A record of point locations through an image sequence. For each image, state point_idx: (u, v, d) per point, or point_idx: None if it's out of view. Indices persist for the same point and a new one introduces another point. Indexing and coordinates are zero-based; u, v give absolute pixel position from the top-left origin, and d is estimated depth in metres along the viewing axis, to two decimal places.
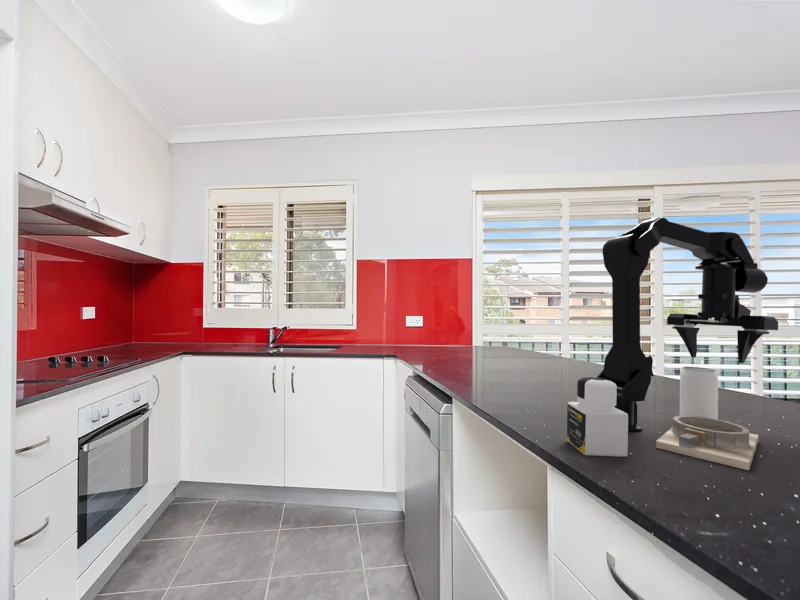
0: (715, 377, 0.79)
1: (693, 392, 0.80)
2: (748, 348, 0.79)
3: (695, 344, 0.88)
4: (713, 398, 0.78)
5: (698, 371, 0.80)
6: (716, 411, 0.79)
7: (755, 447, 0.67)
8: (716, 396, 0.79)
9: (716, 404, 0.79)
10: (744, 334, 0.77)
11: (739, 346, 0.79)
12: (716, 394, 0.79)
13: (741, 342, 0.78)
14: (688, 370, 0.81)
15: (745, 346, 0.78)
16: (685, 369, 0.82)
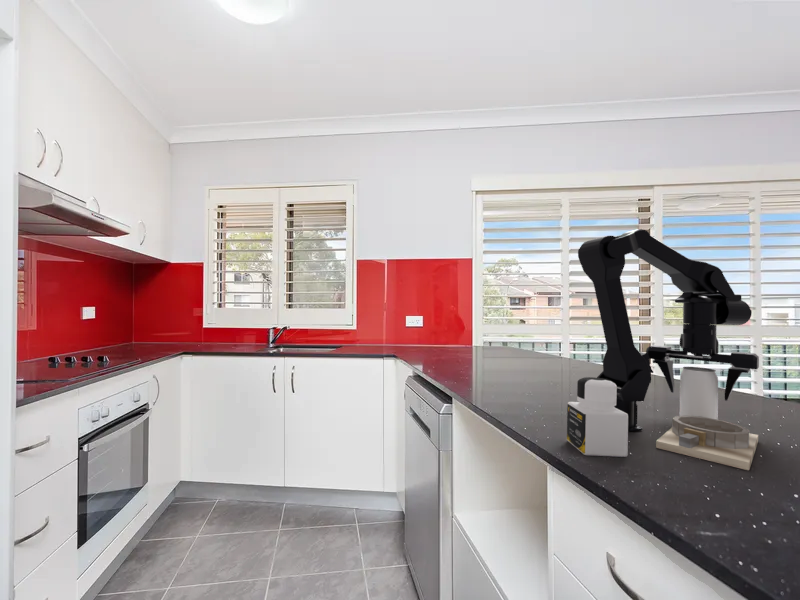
0: (715, 377, 0.79)
1: (693, 392, 0.80)
2: (733, 385, 0.78)
3: (673, 378, 0.85)
4: (713, 398, 0.78)
5: (698, 371, 0.80)
6: (716, 411, 0.79)
7: (755, 447, 0.67)
8: (716, 396, 0.79)
9: (716, 404, 0.79)
10: (735, 373, 0.75)
11: (728, 384, 0.77)
12: (716, 394, 0.79)
13: (731, 380, 0.76)
14: (688, 370, 0.81)
15: (733, 384, 0.77)
16: (685, 369, 0.82)
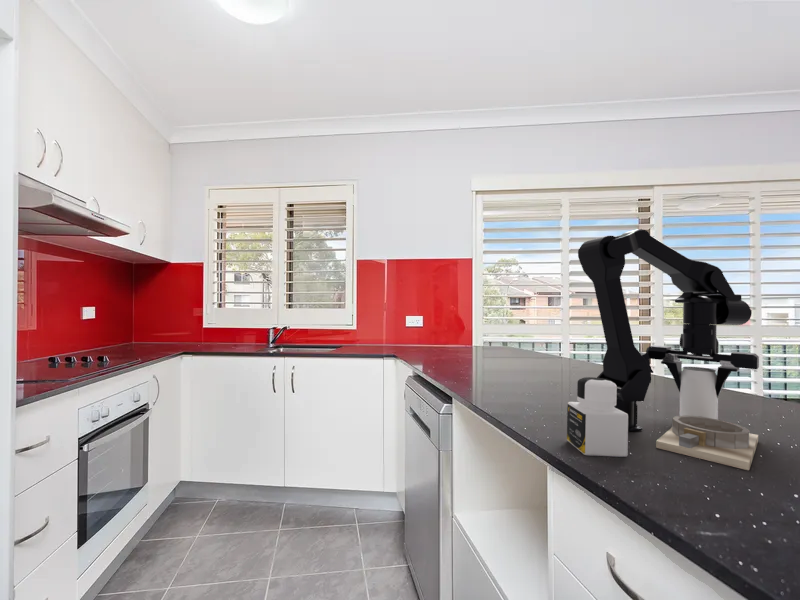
0: (715, 377, 0.79)
1: (693, 392, 0.80)
2: (723, 384, 0.79)
3: None
4: (713, 398, 0.79)
5: (698, 371, 0.80)
6: (716, 410, 0.79)
7: (755, 447, 0.67)
8: (716, 396, 0.79)
9: (716, 404, 0.79)
10: (724, 372, 0.77)
11: (717, 383, 0.78)
12: (716, 394, 0.79)
13: (720, 379, 0.77)
14: (688, 370, 0.81)
15: (723, 383, 0.78)
16: (685, 369, 0.82)
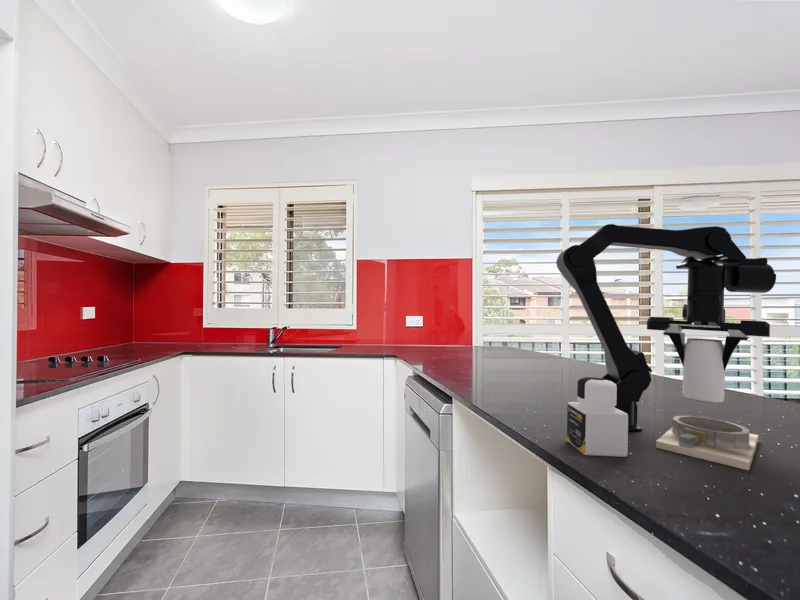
0: (722, 347, 0.73)
1: (698, 364, 0.73)
2: (730, 355, 0.73)
3: None
4: (720, 370, 0.72)
5: (704, 341, 0.73)
6: (723, 384, 0.72)
7: (755, 447, 0.67)
8: (723, 368, 0.72)
9: (723, 377, 0.72)
10: (733, 341, 0.70)
11: (725, 353, 0.72)
12: (723, 366, 0.72)
13: (728, 349, 0.71)
14: (693, 341, 0.75)
15: (731, 353, 0.71)
16: (690, 340, 0.75)
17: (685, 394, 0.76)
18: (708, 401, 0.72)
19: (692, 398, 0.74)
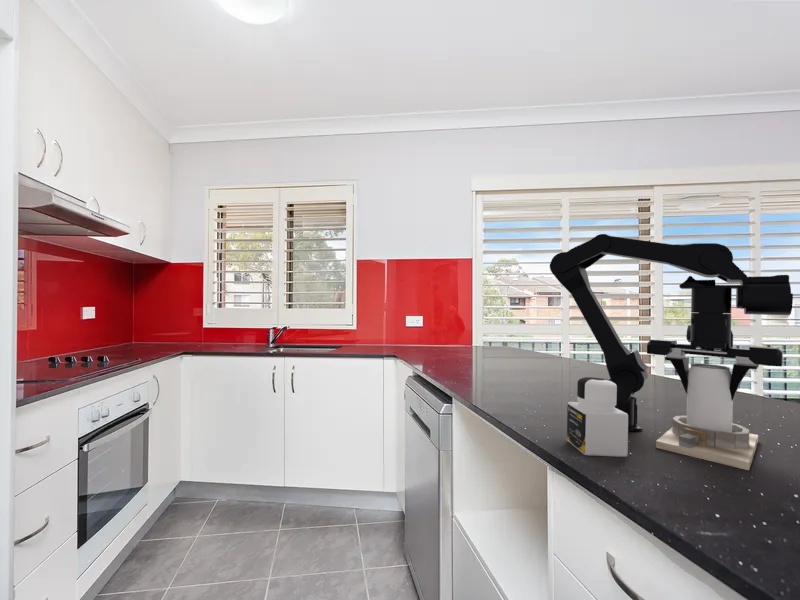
0: (730, 376, 0.66)
1: (703, 394, 0.67)
2: (739, 384, 0.66)
3: None
4: (727, 401, 0.66)
5: (709, 369, 0.67)
6: (730, 416, 0.66)
7: (755, 447, 0.67)
8: None
9: (731, 408, 0.66)
10: (741, 370, 0.64)
11: (732, 383, 0.65)
12: None
13: (736, 378, 0.65)
14: (697, 367, 0.68)
15: (739, 383, 0.65)
16: (694, 366, 0.69)
17: None
18: None
19: None
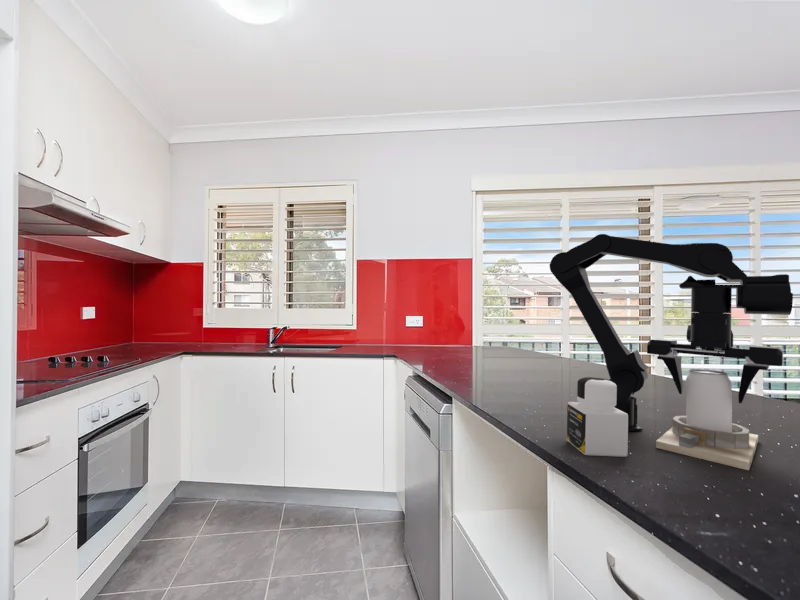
0: (728, 381, 0.66)
1: (701, 400, 0.67)
2: (749, 385, 0.65)
3: (681, 377, 0.72)
4: (726, 406, 0.66)
5: (707, 374, 0.67)
6: (730, 421, 0.66)
7: (755, 447, 0.67)
8: (729, 404, 0.66)
9: (730, 414, 0.66)
10: (752, 370, 0.63)
11: (742, 384, 0.64)
12: (730, 402, 0.66)
13: (746, 379, 0.64)
14: (695, 373, 0.69)
15: (749, 384, 0.64)
16: (692, 372, 0.69)
17: None
18: None
19: None
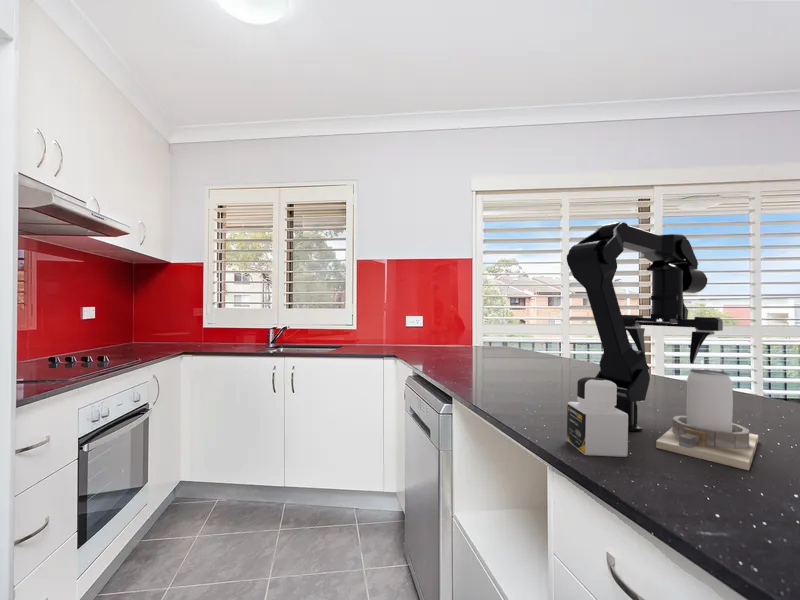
0: (729, 382, 0.66)
1: (702, 400, 0.67)
2: (698, 348, 0.81)
3: (643, 345, 0.89)
4: (727, 407, 0.66)
5: (708, 375, 0.67)
6: (730, 422, 0.66)
7: (755, 447, 0.67)
8: (730, 405, 0.66)
9: (730, 414, 0.66)
10: (698, 336, 0.78)
11: (692, 347, 0.80)
12: (730, 403, 0.66)
13: (695, 343, 0.79)
14: (696, 373, 0.69)
15: (697, 347, 0.80)
16: (693, 372, 0.69)
17: None
18: None
19: None
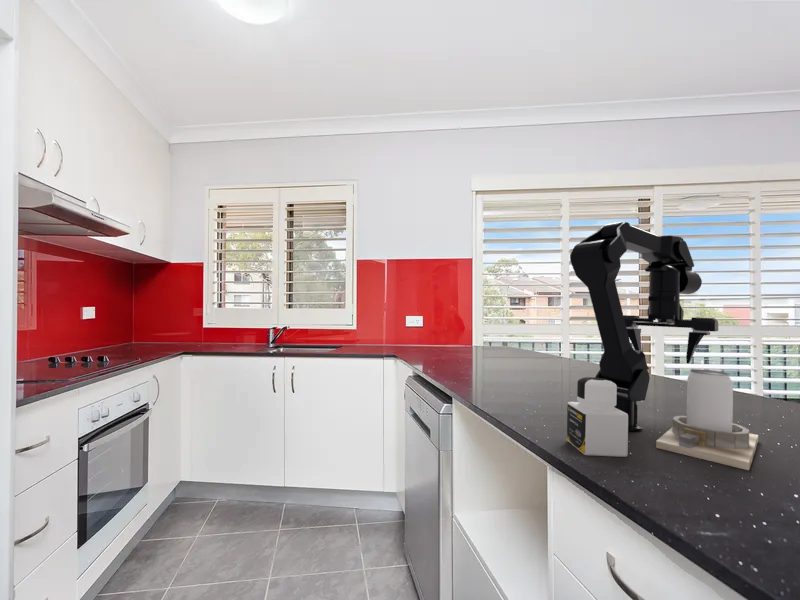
0: (729, 382, 0.66)
1: (702, 400, 0.67)
2: (694, 348, 0.82)
3: (640, 345, 0.89)
4: (727, 407, 0.66)
5: (709, 375, 0.67)
6: (730, 422, 0.66)
7: (755, 447, 0.67)
8: (730, 405, 0.66)
9: (730, 414, 0.66)
10: (695, 336, 0.79)
11: (689, 347, 0.81)
12: (731, 403, 0.66)
13: (691, 343, 0.80)
14: (697, 373, 0.69)
15: (694, 347, 0.81)
16: (693, 372, 0.69)
17: None
18: None
19: None
